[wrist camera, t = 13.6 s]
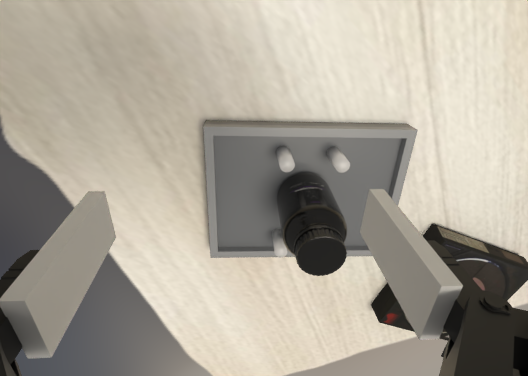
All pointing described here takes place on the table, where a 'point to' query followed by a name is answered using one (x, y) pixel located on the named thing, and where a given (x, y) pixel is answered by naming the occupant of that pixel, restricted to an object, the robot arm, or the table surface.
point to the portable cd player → (473, 262)
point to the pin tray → (288, 164)
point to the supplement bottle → (312, 224)
